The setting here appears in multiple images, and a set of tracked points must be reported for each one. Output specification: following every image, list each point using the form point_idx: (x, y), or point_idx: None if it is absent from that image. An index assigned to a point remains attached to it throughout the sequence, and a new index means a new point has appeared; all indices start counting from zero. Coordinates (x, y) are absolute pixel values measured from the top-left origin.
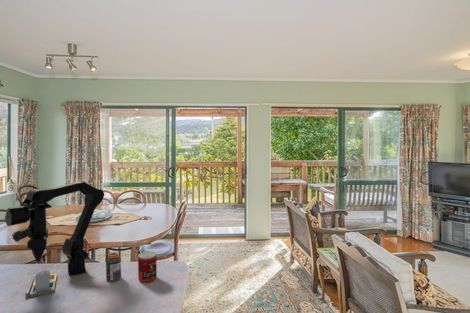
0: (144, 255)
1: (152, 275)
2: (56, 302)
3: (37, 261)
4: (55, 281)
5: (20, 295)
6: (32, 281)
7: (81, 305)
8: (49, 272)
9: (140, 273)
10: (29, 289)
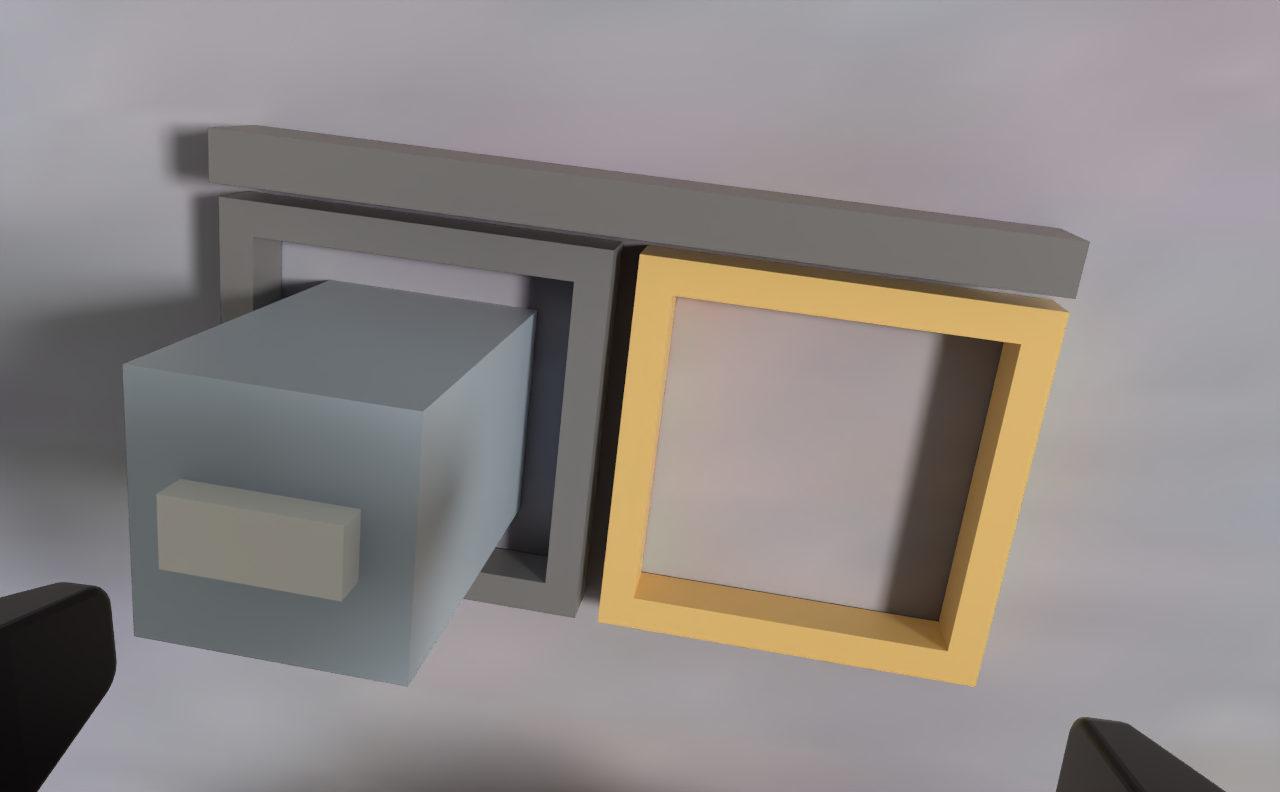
0: None
1: None
2: None
3: (71, 597)
4: (602, 613)
5: (419, 38)
6: (759, 255)
7: None
8: (332, 654)
9: None
10: (355, 197)
